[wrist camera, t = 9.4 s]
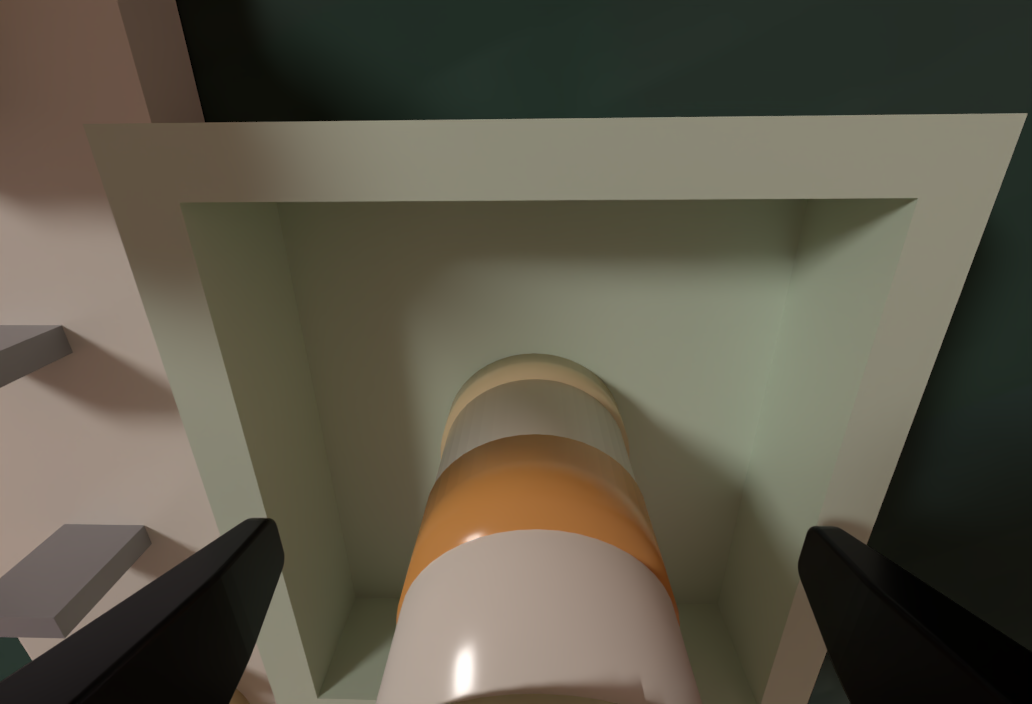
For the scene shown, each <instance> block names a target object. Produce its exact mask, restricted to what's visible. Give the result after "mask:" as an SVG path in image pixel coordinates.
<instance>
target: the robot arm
mask: <svg viewBox="0 0 1032 704" xmlns="http://www.w3.org/2000/svg"><path fill="white" fill-rule="evenodd" d="M284 559H285V556H284V550H283V546H282V542H281V539H280V535H279V531H278V527H277V524H276V522H275V521H274V520H273V519H271V518H248V519H246V520H244V521H243V522H241V523H240V524H238V525H237V526H235V527H234V528H232V529H231V530H229V531H227V532H226V533H224V534H223V535H221V536H220V537H218V538H217V539H215V540H214V541H212V542H211V543H209V544H208V545H206V546H205V547H203V548H202V549H200V550H199V551H197V552H196V553H194V554H193V555H191V556H190V557H188V558H187V559H185V560H184V561H182V562H181V563H179V564H178V565H176V566H175V567H173V568H172V569H170V570H169V571H167V572H166V573H164V574H163V575H161V576H160V577H158V578H157V579H155V580H154V581H152V582H150V583H149V584H147V585H146V586H144V587H143V588H141V589H140V590H138V591H137V592H135V593H134V594H132V595H131V596H129V597H128V598H126V599H125V600H123V601H122V602H120V603H119V604H117V605H116V606H114V607H113V608H111V609H110V610H108V611H107V612H105V613H104V614H102V615H101V616H99V617H98V618H96V619H95V620H93V621H92V622H90V623H89V624H87V625H86V626H84V627H83V628H81V629H79V630H78V631H76V632H75V633H73V634H72V635H70V636H69V637H67V638H66V639H64V640H63V641H61V642H60V643H58V644H57V645H55V646H54V647H52V648H51V649H49V650H48V651H46V652H45V653H43V654H42V655H40V656H39V657H37V658H36V659H34V660H33V661H31V662H30V663H28V664H27V665H25V666H24V667H22V668H21V669H19V670H17V671H16V672H14V673H13V674H11V675H10V676H8V677H7V678H5V679H4V680H2V681H1V682H0V704H229V703H230V701H231V699H232V697H233V695H234V692H235V690H236V688H237V686H238V684H239V682H240V680H241V678H242V675H243V673H244V671H245V669H246V666H247V664H248V662H249V660H250V657H251V655H252V652H253V650H254V647H255V644H256V642H257V639H258V636H259V633H260V631H261V628H262V625H263V622H264V619H265V617H266V614H267V611H268V608H269V606H270V603H271V600H272V597H273V594H274V592H275V589H276V586H277V583H278V580H279V578H280V575H281V572H282V569H283V566H284ZM798 573H799V577H800V580H801V583H802V585H803V588H804V591H805V593H806V596H807V598H808V601H809V604H810V606H811V609H812V612H813V614H814V617H815V620H816V622H817V625H818V628H819V630H820V633H821V635H822V638H823V641H824V643H825V646H826V649H827V651H828V654H829V657H830V659H831V661H832V664H833V666H834V669H835V671H836V674H837V676H838V678H839V680H840V682H841V684H842V686H843V689H844V691H845V693H846V695H847V697H848V699H849V701H850V703H851V704H1032V652H1031V651H1029V650H1028V649H1026V648H1025V647H1023V646H1022V645H1020V644H1018V643H1017V642H1015V641H1014V640H1012V639H1011V638H1009V637H1008V636H1006V635H1005V634H1003V633H1002V632H1000V631H998V630H997V629H995V628H994V627H992V626H991V625H989V624H988V623H986V622H985V621H983V620H981V619H980V618H978V617H977V616H975V615H974V614H972V613H971V612H969V611H968V610H966V609H965V608H963V607H961V606H960V605H958V604H957V603H955V602H954V601H952V600H951V599H949V598H948V597H946V596H944V595H943V594H941V593H940V592H938V591H937V590H935V589H934V588H932V587H931V586H929V585H928V584H926V583H924V582H923V581H921V580H920V579H918V578H917V577H915V576H914V575H912V574H911V573H909V572H907V571H906V570H904V569H903V568H901V567H900V566H898V565H897V564H895V563H894V562H892V561H891V560H889V559H887V558H886V557H884V556H883V555H881V554H880V553H878V552H877V551H875V550H874V549H872V548H870V547H869V546H867V545H866V544H864V543H863V542H861V541H860V540H858V539H857V538H855V537H854V536H852V535H850V534H849V533H847V532H846V531H844V530H843V529H841V528H839V527H836V526H812V527H810V528H809V529H808V531H807V533H806V537H805V540H804V543H803V546H802V550H801V553H800V556H799V560H798Z"/></svg>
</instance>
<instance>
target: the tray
mask: <svg viewBox="0 0 1032 704" xmlns="http://www.w3.org/2000/svg"><path fill="white" fill-rule="evenodd" d="M1027 114H1028V113H1019V114H929V115H839V116H749V117H659V118H569V119H479V120H389V121H299V122H210V123H120V124H83V127H84V130H85V133H86V136H87V139H88V142H89V145H90V148H91V151H92V154H93V157H94V160H95V163H96V165H97V168H98V171H99V174H100V177H101V180H102V183H103V186H104V189H105V192H106V195H107V198H108V201H109V204H110V207H111V210H112V213H113V216H114V219H115V222H116V225H117V228H118V231H119V234H120V237H121V240H122V243H123V246H124V249H125V252H126V255H127V258H128V261H129V264H130V267H131V270H132V273H133V276H134V279H135V282H136V285H137V288H138V291H139V294H140V297H141V300H142V303H143V306H144V309H145V312H146V315H147V318H148V321H149V324H150V327H151V330H152V333H153V336H154V339H155V342H156V345H157V348H158V351H159V354H160V357H161V360H162V363H163V366H164V369H165V372H166V375H167V378H168V381H169V384H170V387H171V390H172V393H173V396H174V399H175V402H176V405H177V408H178V410H179V413H180V416H181V419H182V422H183V425H184V428H185V431H186V434H187V437H188V440H189V443H190V446H191V449H192V452H193V455H194V458H195V461H196V464H197V467H198V470H199V473H200V476H201V479H202V482H203V485H204V488H205V491H206V494H207V497H208V500H209V503H210V506H211V509H212V512H213V515H214V518H215V521H216V524H217V527H218V530H219V533H220V536H221V535H223V534H224V533H226V532H227V531H229V530H231V529H232V528H234V527H235V526H237V525H238V524H240V523H241V522H243V521H244V520H246V519H248V518H271V519H273V520H274V521H275V522H276V524H277V527H278V531H279V535H280V539H281V542H282V546H283V550H284V556H285V559H284V566H283V569H282V572H281V575H280V578H279V580H278V583H277V586H276V589H275V592H274V594H273V597H272V600H271V603H270V606H269V608H268V611H267V614H266V617H265V619H264V622H263V625H262V628H261V631H260V633H259V636H258V639H257V642H256V644H257V647H258V650H259V652H260V655H261V658H262V661H263V664H264V667H265V670H266V673H267V676H268V679H269V682H270V685H271V688H272V691H273V694H274V697H275V700H276V703H277V704H376V700H377V696H378V693H379V689H380V685H381V681H382V678H383V674H384V670H385V667H386V663H387V659H388V655H389V652H390V648H391V644H392V640H393V637H394V633H395V629H396V626H397V624H396V617H397V609H398V604H399V600H400V597H401V593H402V590H403V586H404V582H405V579H406V575H407V571H408V568H409V564H410V561H411V557H412V553H413V550H414V546H415V543H416V539H417V535H418V532H419V528H420V524H421V521H422V517H423V514H424V510H425V506H426V503H427V500H428V497H429V494H430V492H431V490H432V488H433V486H434V484H435V480H436V477H437V473H438V469H439V466H440V462H441V441H442V436H443V433H444V429H445V426H446V422H447V418H448V415H449V412H450V408H451V405H452V402H453V400H454V398H455V396H456V394H457V393H458V391H459V390H460V388H461V387H462V386H463V384H464V383H465V382H466V381H467V380H468V379H469V378H470V377H471V376H472V375H474V374H475V373H476V372H477V371H479V370H480V369H482V368H483V367H485V366H487V365H488V364H491V363H493V362H495V361H497V360H500V359H503V358H506V357H509V356H514V355H520V354H532V353H537V354H549V355H554V356H559V357H563V358H566V359H569V360H572V361H574V362H576V363H578V364H580V365H582V366H584V367H585V368H587V369H589V370H590V371H591V372H593V373H594V374H595V375H596V376H598V377H599V378H600V379H601V380H602V381H603V383H604V384H605V385H606V386H607V387H608V389H609V390H610V392H611V393H612V394H613V397H614V399H615V401H616V403H617V405H618V408H619V412H620V415H621V418H622V421H623V424H624V427H625V431H626V434H627V437H628V443H629V461H630V464H631V467H632V471H633V474H634V477H635V481H636V483H637V485H638V487H639V489H640V491H641V493H642V495H643V497H644V501H645V504H646V507H647V510H648V514H649V517H650V520H651V523H652V527H653V530H654V533H655V536H656V540H657V543H658V546H659V549H660V553H661V556H662V559H663V562H664V566H665V569H666V572H667V575H668V579H669V582H670V585H671V588H672V592H673V595H674V598H675V601H676V605H677V608H678V611H679V621H680V631H681V634H682V638H683V641H684V644H685V648H686V651H687V654H688V658H689V661H690V664H691V668H692V671H693V674H694V678H695V681H696V684H697V688H698V691H699V694H700V698H701V701H702V704H807V703H808V700H809V698H810V695H811V692H812V690H813V687H814V684H815V682H816V679H817V676H818V674H819V671H820V668H821V666H822V663H823V660H824V658H825V655H826V652H827V649H826V646H825V643H824V641H823V638H822V635H821V633H820V630H819V628H818V625H817V622H816V620H815V617H814V614H813V612H812V609H811V606H810V604H809V601H808V598H807V596H806V593H805V591H804V588H803V585H802V583H801V580H800V577H799V573H798V560H799V556H800V553H801V550H802V546H803V543H804V540H805V537H806V533H807V531H808V529H809V528H810V527H812V526H836V527H839V528H841V529H843V530H844V531H846V532H847V533H849V534H850V535H852V536H854V537H855V538H857V539H858V540H860V541H861V542H863V543H864V544H866V545H867V542H868V540H869V537H870V534H871V532H872V529H873V526H874V524H875V521H876V518H877V516H878V513H879V510H880V508H881V505H882V502H883V500H884V497H885V494H886V491H887V489H888V486H889V483H890V481H891V478H892V475H893V473H894V470H895V467H896V465H897V462H898V459H899V457H900V454H901V451H902V449H903V446H904V443H905V441H906V438H907V435H908V433H909V430H910V427H911V424H912V422H913V419H914V416H915V414H916V411H917V408H918V406H919V403H920V400H921V398H922V395H923V392H924V390H925V387H926V384H927V382H928V379H929V376H930V374H931V371H932V368H933V366H934V363H935V360H936V358H937V355H938V352H939V349H940V347H941V344H942V341H943V339H944V336H945V333H946V331H947V328H948V325H949V323H950V320H951V317H952V315H953V312H954V309H955V307H956V304H957V301H958V299H959V296H960V293H961V291H962V288H963V285H964V283H965V280H966V277H967V274H968V272H969V269H970V266H971V264H972V261H973V258H974V256H975V253H976V250H977V248H978V245H979V242H980V240H981V237H982V234H983V232H984V229H985V226H986V224H987V221H988V218H989V216H990V213H991V210H992V208H993V205H994V202H995V199H996V197H997V194H998V191H999V189H1000V186H1001V183H1002V181H1003V178H1004V175H1005V173H1006V170H1007V167H1008V165H1009V162H1010V159H1011V157H1012V154H1013V151H1014V149H1015V146H1016V143H1017V141H1018V138H1019V135H1020V133H1021V130H1022V127H1023V124H1024V122H1025V119H1026V116H1027Z"/></svg>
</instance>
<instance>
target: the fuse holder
mask: <svg viewBox="0 0 1032 704" xmlns="http://www.w3.org/2000/svg"><path fill="white" fill-rule="evenodd" d="M120 123H205V120H204V116H203V112H202V108H201V104H200V100H199V96H198V91H197V87H196V83H195V79H194V75H193V71H192V67H191V63H190V58H189V54H188V50H187V46H186V42H185V38H184V34H183V30H182V25H181V21H180V17H179V13H178V9H177V5H176V1H175V0H0V637H18V639H19V640H20V642H21V643H22V645H23V647H24V648H25V650H26V651H27V653H28V655H29V656H30V658H31V659H32V661H33V660H34V659H36V658H37V657H39V656H40V655H42V654H43V653H45V652H46V651H48V650H49V649H51V648H52V647H54V646H55V645H57V644H58V643H60V642H61V641H63V640H64V639H66V638H67V637H69V636H70V635H72V634H73V633H75V632H76V631H78V630H79V629H81V628H83V627H84V626H86V625H87V624H89V623H90V622H92V621H93V620H95V619H96V618H98V617H99V616H101V615H102V614H104V613H105V612H107V611H108V610H110V609H111V608H113V607H114V606H116V605H117V604H119V603H120V602H122V601H123V600H125V599H126V598H128V597H129V596H131V595H132V594H134V593H135V592H137V591H138V590H140V589H141V588H143V587H144V586H146V585H147V584H149V583H150V582H152V581H154V580H155V579H157V578H158V577H160V576H161V575H163V574H164V573H166V572H167V571H169V570H170V569H172V568H173V567H175V566H176V565H178V564H179V563H181V562H182V561H184V560H185V559H187V558H188V557H190V556H191V555H193V554H194V553H196V552H197V551H199V550H200V549H202V548H203V547H205V546H206V545H208V544H209V543H211V542H212V541H214V540H215V539H217V538H218V537H220V533H219V530H218V527H217V524H216V521H215V518H214V515H213V512H212V509H211V506H210V503H209V500H208V497H207V494H206V491H205V488H204V485H203V482H202V479H201V476H200V473H199V470H198V467H197V464H196V461H195V458H194V455H193V452H192V449H191V446H190V443H189V440H188V437H187V434H186V431H185V428H184V425H183V422H182V419H181V416H180V413H179V410H178V408H177V405H176V402H175V399H174V396H173V393H172V390H171V387H170V384H169V381H168V378H167V375H166V372H165V369H164V366H163V363H162V360H161V357H160V354H159V351H158V348H157V345H156V342H155V339H154V336H153V333H152V330H151V327H150V324H149V321H148V318H147V315H146V312H145V309H144V306H143V303H142V300H141V297H140V294H139V291H138V288H137V285H136V282H135V279H134V276H133V273H132V270H131V267H130V264H129V261H128V258H127V255H126V252H125V249H124V246H123V243H122V240H121V237H120V234H119V231H118V228H117V225H116V222H115V219H114V216H113V213H112V210H111V207H110V204H109V201H108V198H107V195H106V192H105V189H104V186H103V183H102V180H101V177H100V174H99V171H98V168H97V165H96V163H95V160H94V157H93V154H92V151H91V148H90V145H89V142H88V139H87V136H86V133H85V130H84V127H83V124H120ZM236 689H237V690H239V691H240V692H241V693H242V694H243V695H244V696H245V698H246V699H247V700H248V702H249V703H250V704H277V703H276V700H275V697H274V694H273V691H272V688H271V685H270V682H269V679H268V676H267V673H266V670H265V667H264V664H263V661H262V658H261V655H260V652H259V650H258V647H257V644H255V647H254V650H253V652H252V655H251V657H250V660H249V662H248V664H247V666H246V669H245V671H244V673H243V675H242V678H241V680H240V682H239V684H238V686H237V688H236Z"/></svg>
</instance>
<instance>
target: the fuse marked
mask: <svg viewBox="0 0 1032 704" xmlns="http://www.w3.org/2000/svg"><path fill="white" fill-rule="evenodd" d="M396 624H397V626H396V629H395V633H394V637H393V640H392V644H391V648H390V652H389V655H388V659H387V663H386V667H385V670H384V674H383V678H382V681H381V685H380V689H379V693H378V696H377V700H376V704H702V701H701V698H700V694H699V691H698V688H697V684H696V681H695V678H694V674H693V671H692V668H691V664H690V661H689V658H688V654H687V651H686V648H685V644H684V641H683V638H682V634H681V631H680V621H679V611H678V608H677V605H676V601H675V598H674V595H673V592H672V588H671V585H670V582H669V579H668V575H667V572H666V569H665V566H664V562H663V559H662V556H661V553H660V549H659V546H658V543H657V540H656V536H655V533H654V530H653V527H652V523H651V520H650V517H649V514H648V510H647V507H646V504H645V501H644V497H643V495H642V493H641V491H640V489H639V487H638V485H637V483H636V481H635V477H634V474H633V471H632V467H631V464H630V461H629V443H628V437H627V434H626V431H625V427H624V424H623V421H622V418H621V415H620V412H619V408H618V405H617V403H616V401H615V399H614V397H613V394H612V393H611V392H610V390H609V389H608V387H607V386H606V385H605V384H604V383H603V381H602V380H601V379H600V378H599V377H598V376H596V375H595V374H594V373H593V372H591V371H590V370H589V369H587V368H585V367H584V366H582V365H580V364H578V363H576V362H574V361H572V360H569V359H566V358H563V357H559V356H554V355H549V354H537V353H532V354H520V355H514V356H509V357H506V358H503V359H500V360H497V361H495V362H493V363H491V364H488V365H487V366H485V367H483V368H482V369H480V370H479V371H477V372H476V373H475V374H474V375H472V376H471V377H470V378H469V379H468V380H467V381H466V382H465V383H464V384H463V386H462V387H461V388H460V390H459V391H458V393H457V394H456V396H455V398H454V400H453V402H452V405H451V408H450V412H449V415H448V418H447V422H446V426H445V429H444V433H443V436H442V441H441V462H440V466H439V469H438V473H437V477H436V480H435V484H434V486H433V488H432V490H431V492H430V494H429V497H428V500H427V503H426V506H425V510H424V514H423V517H422V521H421V524H420V528H419V532H418V535H417V539H416V543H415V546H414V550H413V553H412V557H411V561H410V564H409V568H408V571H407V575H406V579H405V582H404V586H403V590H402V593H401V597H400V600H399V604H398V609H397V617H396Z"/></svg>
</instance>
